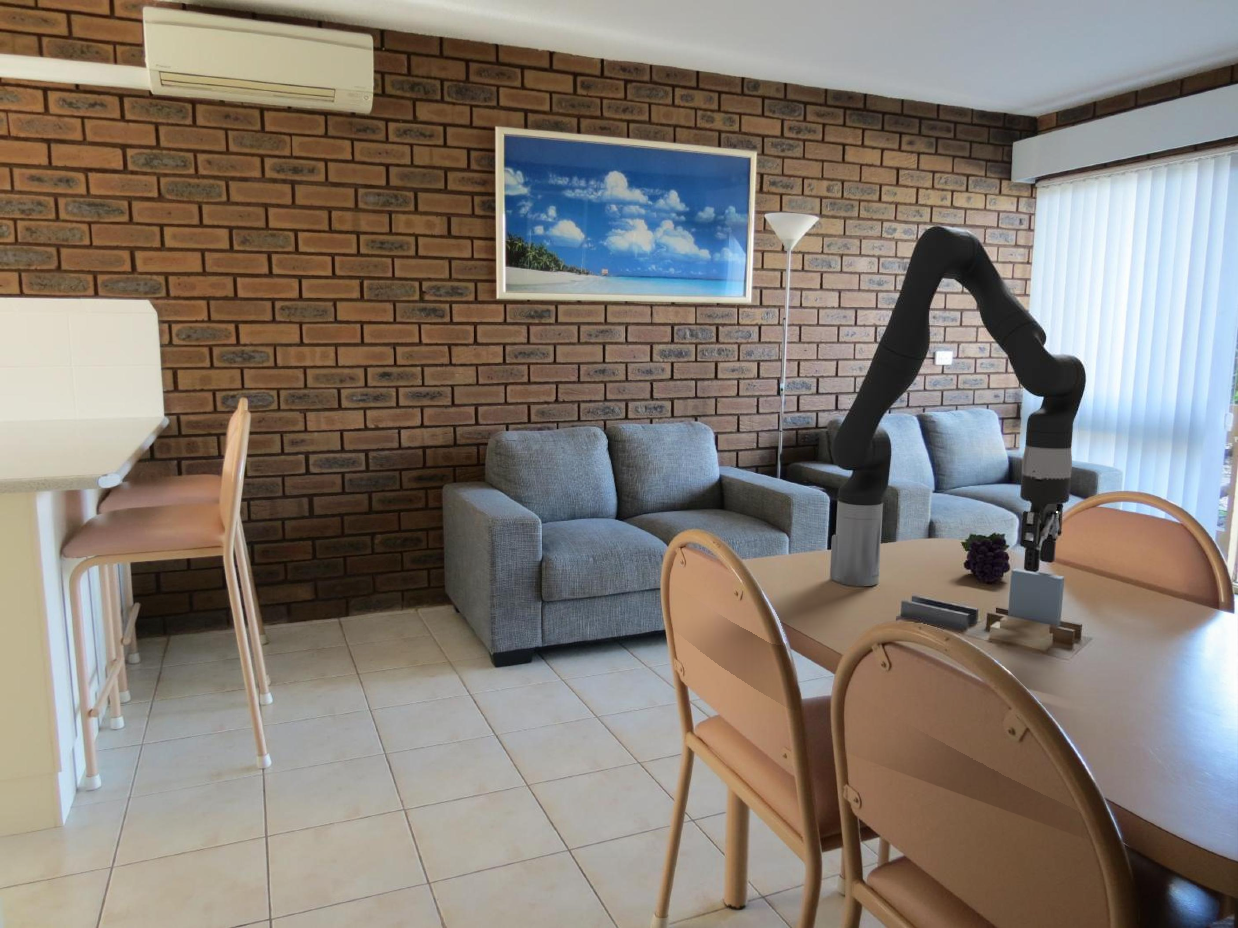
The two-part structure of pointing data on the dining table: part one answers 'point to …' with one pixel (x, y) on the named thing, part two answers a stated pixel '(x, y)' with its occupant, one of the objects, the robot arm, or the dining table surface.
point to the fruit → (987, 556)
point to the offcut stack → (1022, 632)
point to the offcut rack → (1064, 636)
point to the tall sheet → (1036, 596)
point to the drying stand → (939, 613)
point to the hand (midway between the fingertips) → (1039, 566)
